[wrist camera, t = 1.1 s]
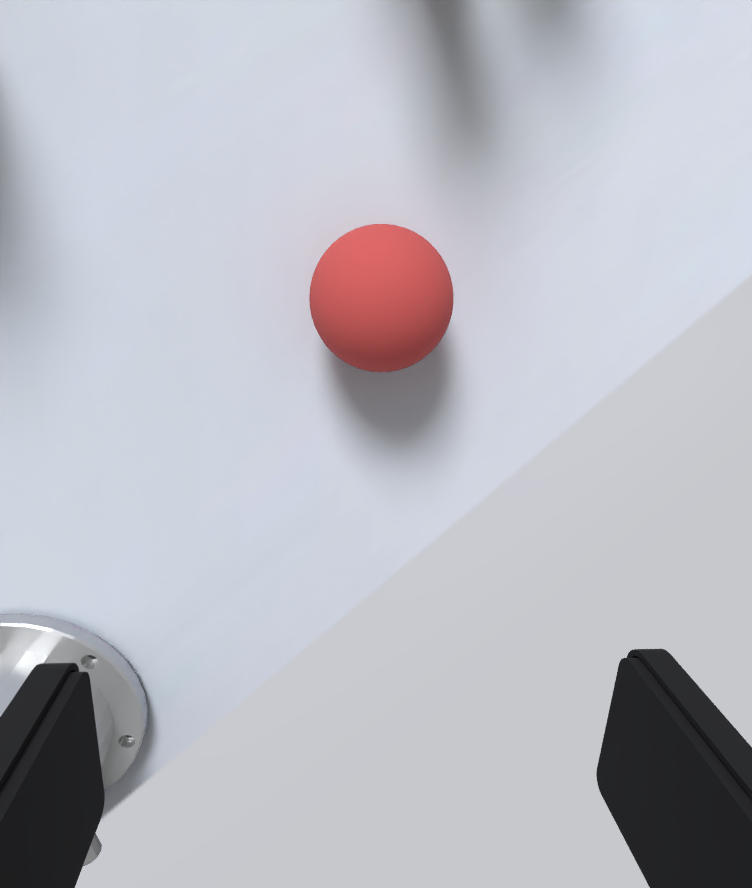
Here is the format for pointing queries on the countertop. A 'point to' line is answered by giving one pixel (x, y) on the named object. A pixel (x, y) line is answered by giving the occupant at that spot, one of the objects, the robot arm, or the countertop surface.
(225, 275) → the countertop surface
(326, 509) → the countertop surface
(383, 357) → the ball
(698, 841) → the robot arm
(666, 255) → the countertop surface
